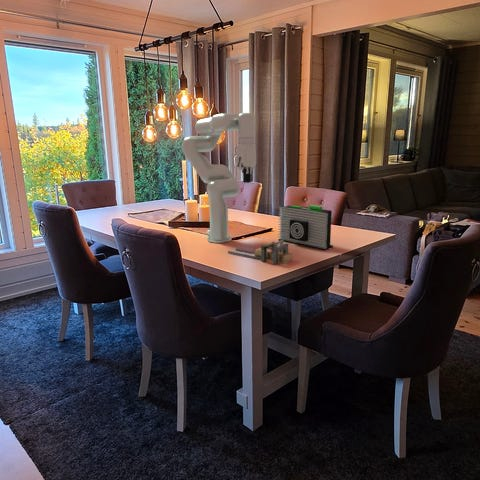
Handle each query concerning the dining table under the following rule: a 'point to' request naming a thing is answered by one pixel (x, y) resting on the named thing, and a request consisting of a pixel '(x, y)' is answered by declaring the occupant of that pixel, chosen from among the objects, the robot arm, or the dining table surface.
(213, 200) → the robot arm
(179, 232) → the dining table surface
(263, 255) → the collar rig
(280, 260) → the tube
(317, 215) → the electronic device
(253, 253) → the guide
